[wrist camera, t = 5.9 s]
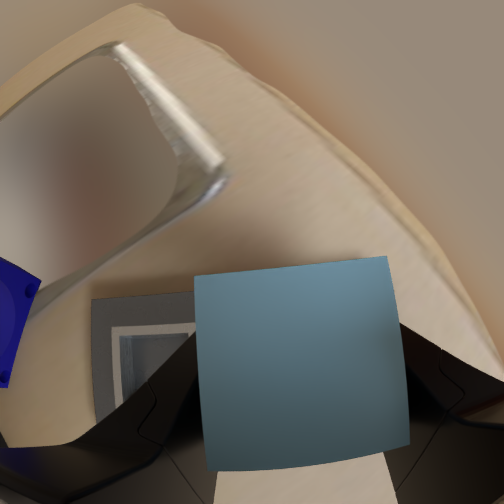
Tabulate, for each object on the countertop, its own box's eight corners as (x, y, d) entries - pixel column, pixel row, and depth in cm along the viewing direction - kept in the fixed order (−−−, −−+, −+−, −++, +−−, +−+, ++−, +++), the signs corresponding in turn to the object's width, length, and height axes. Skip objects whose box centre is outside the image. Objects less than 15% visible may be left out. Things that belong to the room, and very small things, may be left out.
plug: (329, 315, 12) (386, 255, 6) (338, 404, 11) (409, 444, 4) (238, 325, 12) (193, 276, 6) (246, 414, 11) (207, 470, 4)
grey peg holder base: (378, 276, 23) (415, 238, 16) (397, 416, 19) (444, 433, 12) (104, 304, 24) (48, 280, 17) (111, 436, 20) (55, 453, 13)
